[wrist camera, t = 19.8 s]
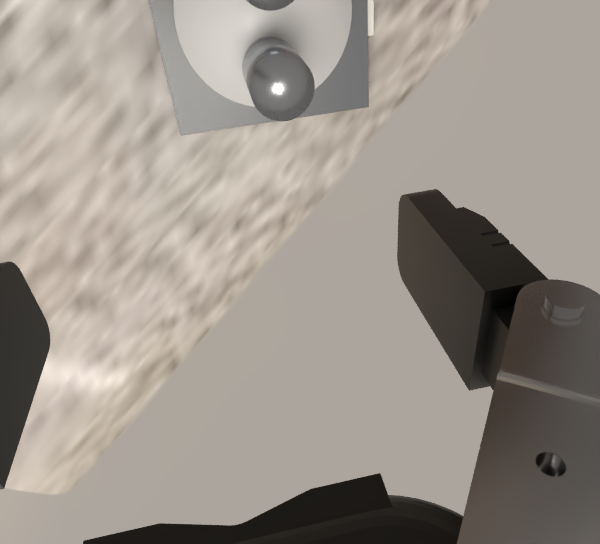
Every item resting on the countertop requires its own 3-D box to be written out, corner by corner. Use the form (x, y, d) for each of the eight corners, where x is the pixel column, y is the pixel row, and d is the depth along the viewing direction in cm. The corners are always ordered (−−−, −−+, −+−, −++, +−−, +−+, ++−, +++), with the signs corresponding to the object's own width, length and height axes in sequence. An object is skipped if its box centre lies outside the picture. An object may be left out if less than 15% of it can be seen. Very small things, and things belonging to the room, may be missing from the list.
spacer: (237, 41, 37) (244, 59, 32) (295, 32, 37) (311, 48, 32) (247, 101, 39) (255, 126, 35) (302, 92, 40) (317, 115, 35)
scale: (128, -106, 35) (121, -109, 31) (359, -130, 36) (381, -136, 32) (181, 120, 44) (180, 139, 40) (363, 93, 46) (380, 109, 42)
